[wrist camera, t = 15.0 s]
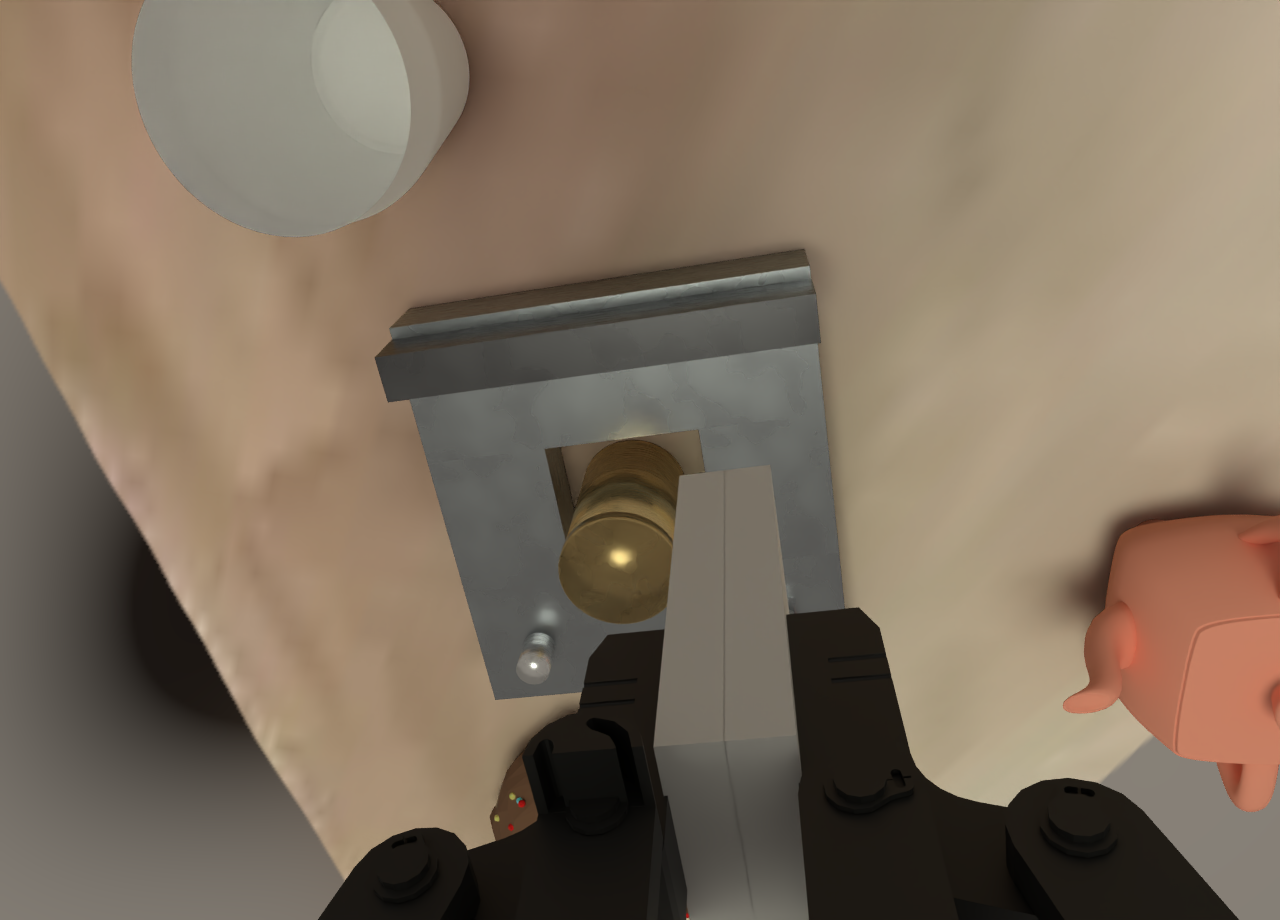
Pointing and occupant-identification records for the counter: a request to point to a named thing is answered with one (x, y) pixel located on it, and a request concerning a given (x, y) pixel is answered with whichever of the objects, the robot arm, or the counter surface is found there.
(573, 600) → the amber grooved cylinder
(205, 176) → the cup
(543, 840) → the robot arm
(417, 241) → the counter surface
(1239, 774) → the pink piggy bank
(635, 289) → the jig
